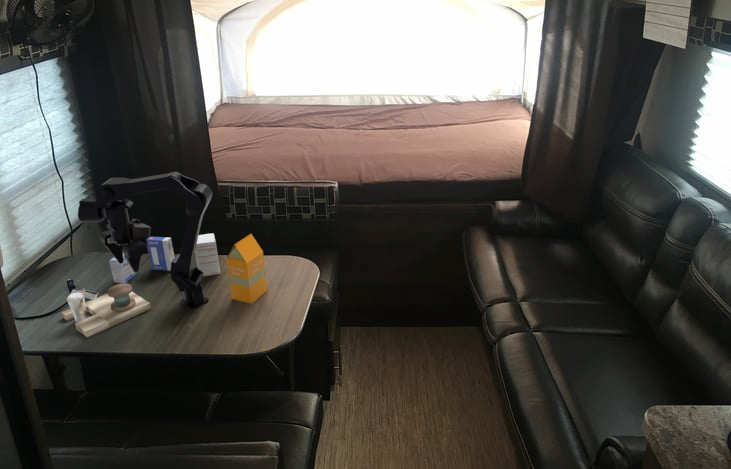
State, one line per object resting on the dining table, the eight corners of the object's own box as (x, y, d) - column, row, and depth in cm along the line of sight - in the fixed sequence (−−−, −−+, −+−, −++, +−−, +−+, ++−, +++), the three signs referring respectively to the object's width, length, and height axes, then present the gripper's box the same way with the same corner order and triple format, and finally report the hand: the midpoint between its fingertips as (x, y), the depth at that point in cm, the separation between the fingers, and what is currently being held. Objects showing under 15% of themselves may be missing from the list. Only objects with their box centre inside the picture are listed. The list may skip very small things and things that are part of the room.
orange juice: (267, 290, 184) (261, 235, 176) (251, 303, 177) (244, 246, 168) (247, 286, 187) (241, 231, 179) (231, 298, 180) (223, 242, 171)
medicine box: (125, 284, 190) (120, 261, 186) (113, 282, 191) (108, 260, 187) (138, 272, 197) (134, 250, 193) (127, 271, 198) (122, 249, 194)
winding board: (151, 308, 175) (149, 303, 174) (87, 337, 162) (85, 331, 161) (125, 291, 185) (124, 286, 184) (63, 317, 171) (61, 312, 170)
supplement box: (197, 268, 199) (192, 235, 194) (219, 264, 201) (214, 232, 196) (198, 277, 193) (192, 244, 188) (220, 274, 195) (215, 241, 189)
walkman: (152, 269, 199) (145, 238, 194) (155, 266, 201) (149, 235, 196) (173, 271, 197) (167, 240, 192) (176, 267, 200) (171, 236, 195)
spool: (139, 304, 174) (136, 288, 171) (118, 314, 169) (114, 297, 166) (128, 297, 178) (125, 281, 175) (107, 306, 173) (103, 290, 171)
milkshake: (95, 318, 171) (87, 290, 166) (77, 326, 167) (69, 297, 163) (88, 313, 173) (80, 285, 169) (70, 321, 170) (62, 292, 165)
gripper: (160, 220, 167) (168, 267, 173) (128, 205, 178) (138, 250, 185) (124, 232, 159) (134, 280, 166) (93, 216, 170) (104, 262, 177)
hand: (128, 267), depth 173 cm, fingers open, 9 cm apart
